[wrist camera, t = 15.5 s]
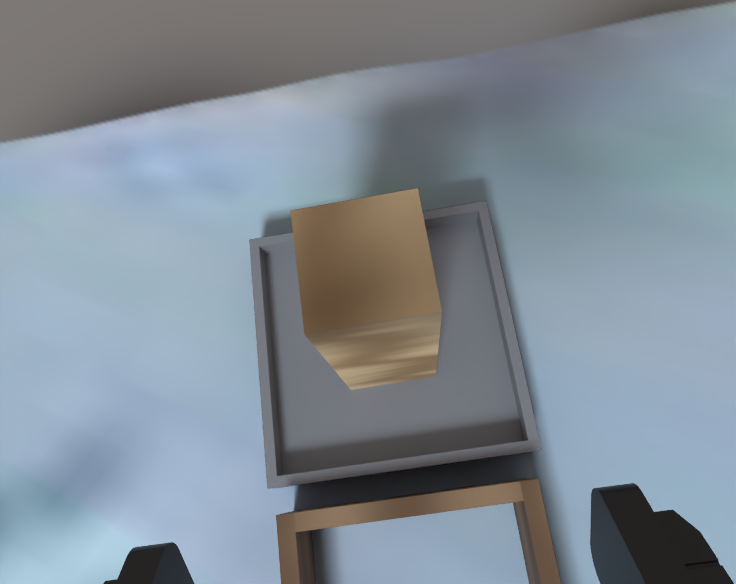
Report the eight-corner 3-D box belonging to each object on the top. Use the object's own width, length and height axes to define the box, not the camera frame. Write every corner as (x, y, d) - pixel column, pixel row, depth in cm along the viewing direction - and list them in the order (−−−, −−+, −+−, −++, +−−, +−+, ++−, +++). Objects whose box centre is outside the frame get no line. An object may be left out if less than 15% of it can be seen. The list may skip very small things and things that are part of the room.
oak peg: (420, 295, 31) (418, 188, 19) (435, 376, 29) (442, 311, 18) (339, 309, 31) (290, 210, 20) (351, 389, 30) (304, 334, 18)
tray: (482, 216, 33) (486, 200, 31) (533, 451, 29) (541, 449, 27) (259, 253, 33) (249, 239, 31) (277, 488, 29) (267, 488, 27)
